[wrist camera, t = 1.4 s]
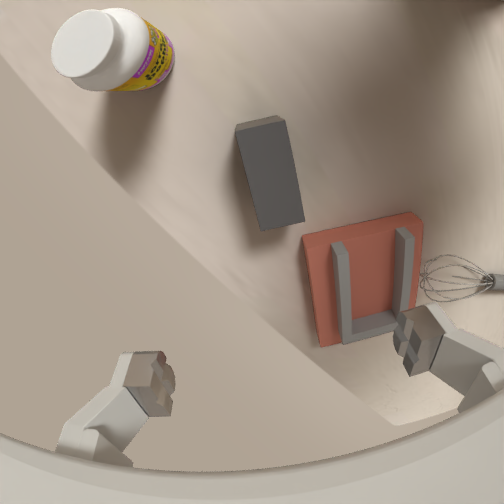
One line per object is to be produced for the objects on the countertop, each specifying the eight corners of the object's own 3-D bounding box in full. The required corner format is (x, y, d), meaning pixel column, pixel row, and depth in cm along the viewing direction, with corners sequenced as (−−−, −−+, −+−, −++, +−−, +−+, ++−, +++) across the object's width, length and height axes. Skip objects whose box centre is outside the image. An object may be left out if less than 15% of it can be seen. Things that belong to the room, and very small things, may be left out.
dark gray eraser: (276, 115, 26) (285, 120, 21) (294, 198, 31) (305, 221, 26) (236, 124, 27) (234, 131, 22) (257, 206, 31) (260, 231, 26)
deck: (411, 211, 32) (434, 232, 27) (404, 308, 39) (419, 333, 35) (301, 235, 33) (311, 261, 28) (316, 332, 41) (324, 361, 36)
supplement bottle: (170, 92, 25) (117, 94, 14) (109, 90, 24) (33, 97, 13) (182, 30, 21) (139, -10, 10) (120, 30, 21) (50, 4, 9)
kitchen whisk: (517, 293, 41) (533, 311, 35) (403, 280, 37) (422, 309, 32) (530, 268, 38) (547, 285, 32) (420, 242, 34) (444, 268, 29)
